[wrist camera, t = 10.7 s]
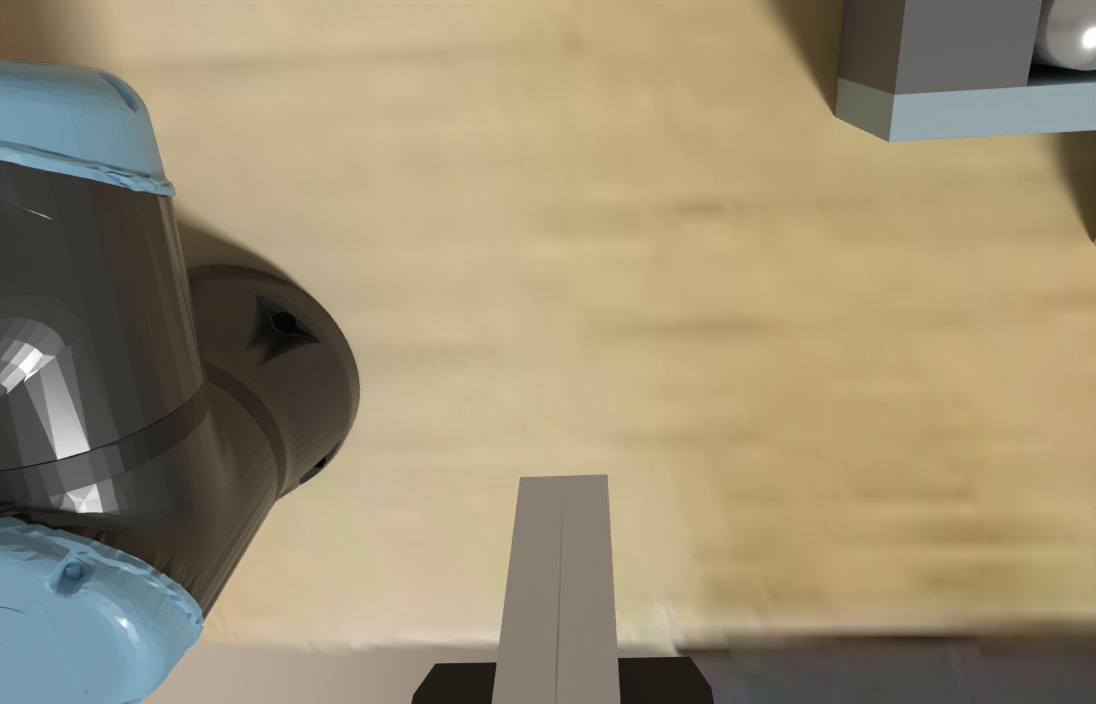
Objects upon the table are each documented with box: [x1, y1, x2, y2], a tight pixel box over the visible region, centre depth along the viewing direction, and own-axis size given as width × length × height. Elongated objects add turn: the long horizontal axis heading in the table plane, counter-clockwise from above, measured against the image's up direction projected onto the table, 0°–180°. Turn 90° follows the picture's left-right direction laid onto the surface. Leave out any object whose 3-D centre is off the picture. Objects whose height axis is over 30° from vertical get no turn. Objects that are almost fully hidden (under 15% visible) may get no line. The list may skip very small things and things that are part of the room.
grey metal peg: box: [1031, 0, 1096, 71], centre depth 35 cm, size 4×4×8 cm
